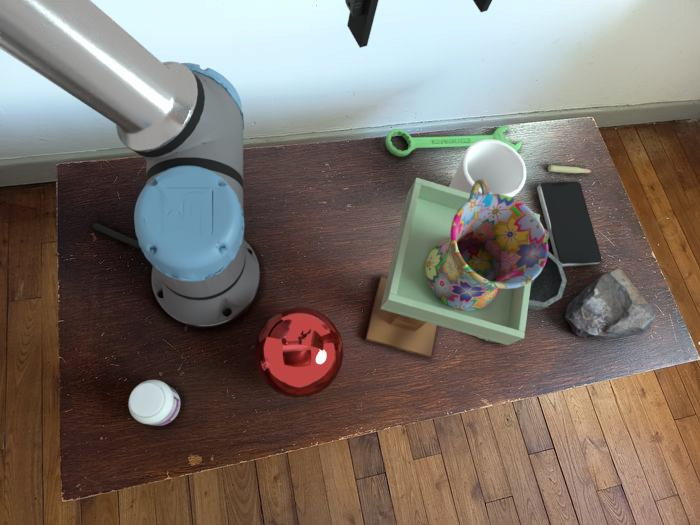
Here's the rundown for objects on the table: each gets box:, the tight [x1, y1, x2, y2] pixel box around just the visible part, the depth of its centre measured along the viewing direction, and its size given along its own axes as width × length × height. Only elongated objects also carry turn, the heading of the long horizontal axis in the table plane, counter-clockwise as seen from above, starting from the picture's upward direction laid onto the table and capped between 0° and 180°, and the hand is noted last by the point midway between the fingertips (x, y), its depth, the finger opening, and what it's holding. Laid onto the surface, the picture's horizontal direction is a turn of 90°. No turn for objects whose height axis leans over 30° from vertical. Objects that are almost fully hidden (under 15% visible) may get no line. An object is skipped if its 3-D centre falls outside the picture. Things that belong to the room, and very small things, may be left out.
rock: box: [564, 267, 657, 339], centre depth 85 cm, size 14×11×5 cm
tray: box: [380, 177, 541, 346], centre depth 58 cm, size 14×14×4 cm
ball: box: [253, 306, 345, 399], centre depth 72 cm, size 12×12×12 cm
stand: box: [364, 276, 438, 358], centre depth 71 cm, size 10×10×24 cm
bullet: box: [547, 164, 592, 175], centre depth 95 cm, size 1×1×8 cm
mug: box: [426, 180, 549, 311], centre depth 54 cm, size 12×9×11 cm
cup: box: [448, 139, 527, 198], centre depth 84 cm, size 10×10×13 cm
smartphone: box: [536, 180, 603, 268], centre depth 91 cm, size 8×1×15 cm
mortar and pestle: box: [528, 228, 568, 311], centre depth 81 cm, size 11×9×12 cm
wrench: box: [385, 125, 523, 158], centre depth 93 cm, size 25×2×5 cm
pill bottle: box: [128, 379, 181, 427], centre depth 68 cm, size 5×5×10 cm
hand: (419, 18), depth 52 cm, fingers open, 13 cm apart
